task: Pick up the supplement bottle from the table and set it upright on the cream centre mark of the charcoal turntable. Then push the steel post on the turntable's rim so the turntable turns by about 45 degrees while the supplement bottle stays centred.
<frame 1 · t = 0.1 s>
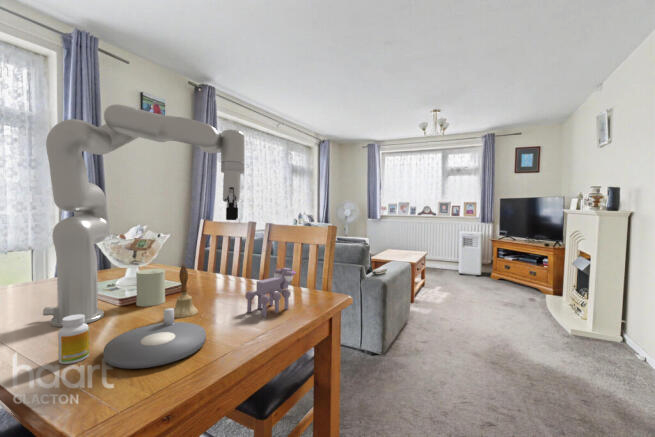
hand: (232, 219, 103), 31 cm above the table, tool pointing down, fingers open, 9 cm apart
supplement bottle: (74, 359, 70), on the table
hand bell: (184, 313, 101), on the table
turntable: (158, 333, 76), point 3 cm above the table, hinge at 0.0°
can: (151, 303, 111), on the table
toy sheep: (276, 308, 108), on the table
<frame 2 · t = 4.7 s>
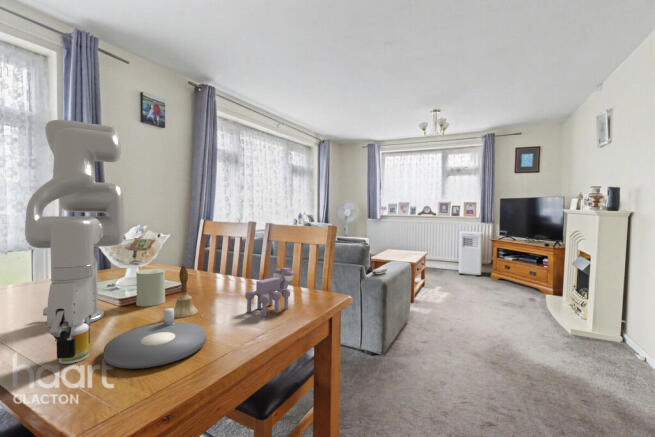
hand: (74, 350, 70), 2 cm above the table, tool pointing down, fingers closed on supplement bottle, 5 cm apart
supplement bottle: (74, 359, 70), on the table, touching gripper
everything else where it was.
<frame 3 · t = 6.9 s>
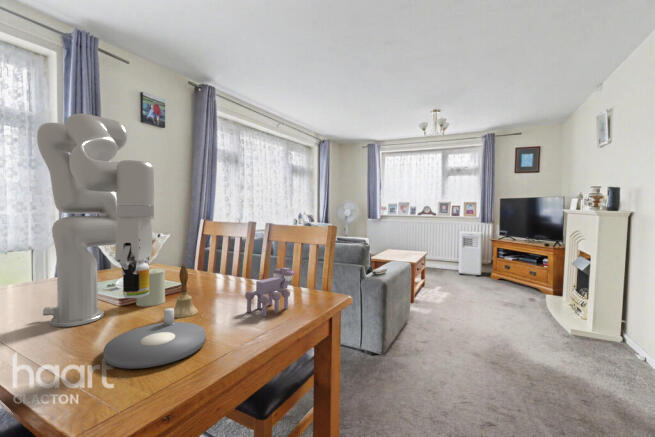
hand: (136, 287, 74), 16 cm above the table, tool pointing down, fingers closed on supplement bottle, 5 cm apart
supplement bottle: (136, 296, 74), point 14 cm above the table, touching gripper
everything else where it was.
when the fingers open (6 cm above the table, at t = 9.5 s): supplement bottle drops 1 cm, resting on turntable.
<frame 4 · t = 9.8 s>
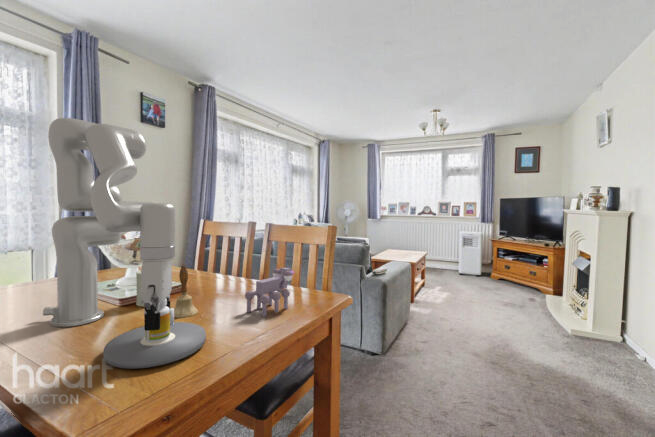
hand: (158, 322, 76), 6 cm above the table, tool pointing down, fingers open, 8 cm apart
supplement bottle: (157, 338, 76), point 2 cm above the table, touching turntable
turntable: (158, 333, 76), point 3 cm above the table, hinge at 0.0°, touching supplement bottle
everything else where it was.
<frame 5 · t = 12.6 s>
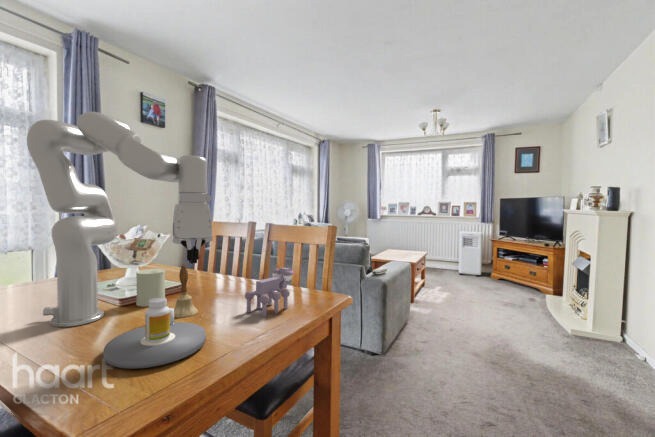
hand: (192, 262, 89), 19 cm above the table, tool pointing down, fingers closed
nothing on the table moved.
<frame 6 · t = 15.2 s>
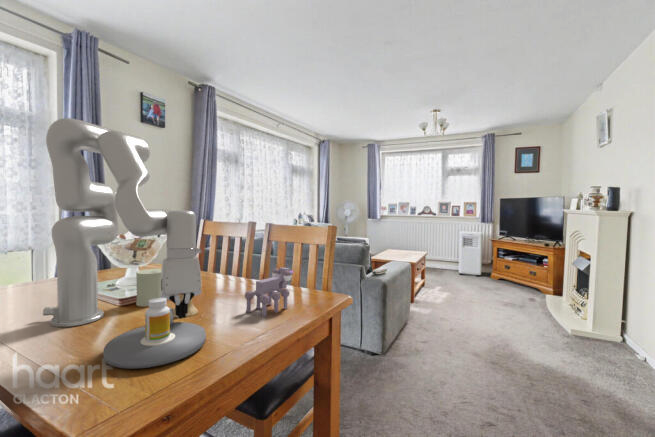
hand: (181, 316, 88), 4 cm above the table, tool pointing down, fingers closed
turntable: (158, 333, 76), point 3 cm above the table, hinge at 1.0°, touching supplement bottle, gripper
everything else where it was.
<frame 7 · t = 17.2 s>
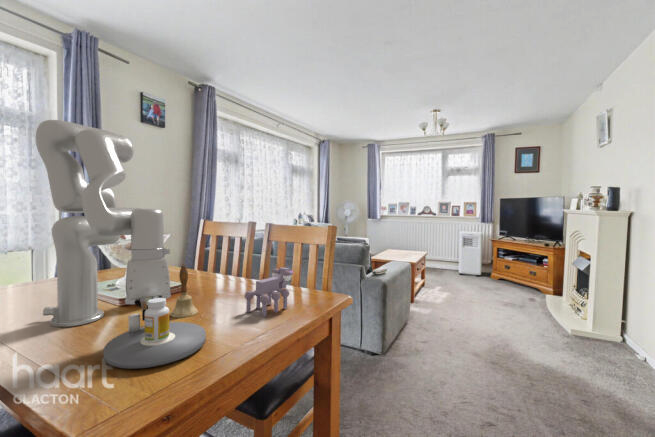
hand: (149, 322, 83), 4 cm above the table, tool pointing down, fingers closed
turntable: (157, 334, 76), point 3 cm above the table, hinge at 48.7°, touching supplement bottle, gripper
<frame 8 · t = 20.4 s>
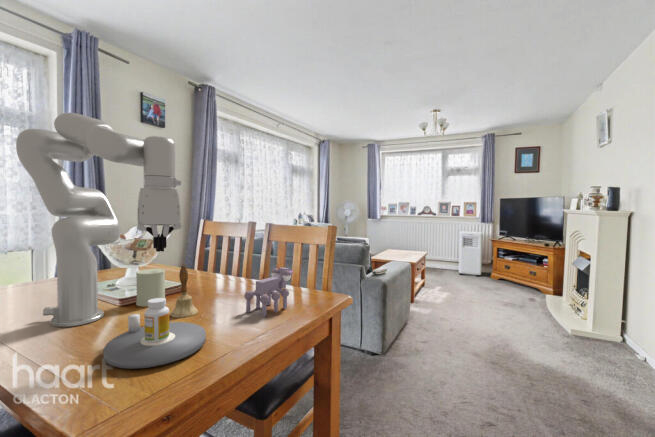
hand: (159, 250, 84), 23 cm above the table, tool pointing down, fingers closed
turntable: (157, 334, 76), point 3 cm above the table, hinge at 49.0°, touching supplement bottle
at the end: turntable at +49° (first picture: +0°); supplement bottle 0.3 cm from the turntable (horizontally); supplement bottle tilted 0° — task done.
